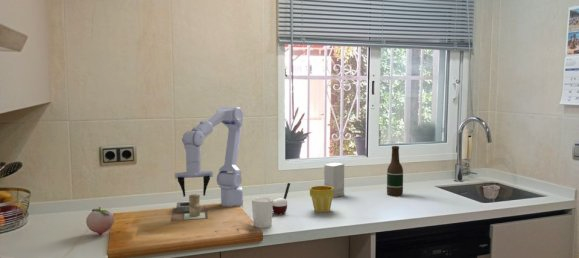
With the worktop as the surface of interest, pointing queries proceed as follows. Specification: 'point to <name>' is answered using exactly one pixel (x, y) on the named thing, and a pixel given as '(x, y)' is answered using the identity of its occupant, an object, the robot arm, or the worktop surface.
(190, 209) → the maple peg
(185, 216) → the pad
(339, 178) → the skincare box
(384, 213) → the worktop surface
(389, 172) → the beer bottle
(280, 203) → the cocoa
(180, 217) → the walnut board
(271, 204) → the white cup
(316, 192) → the plant pot
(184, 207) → the grey square frame
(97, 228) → the decorative fruit
